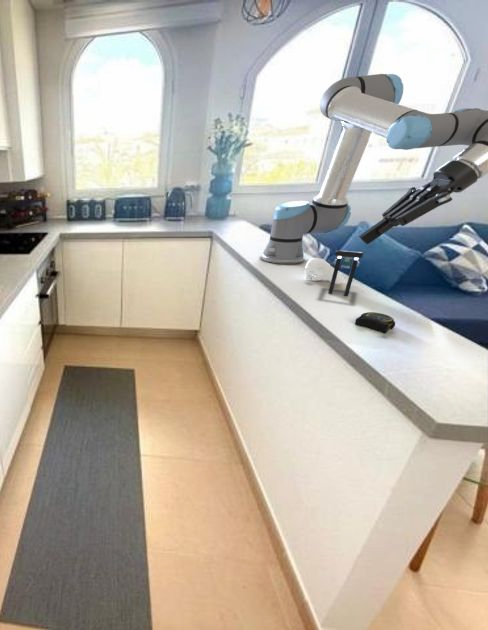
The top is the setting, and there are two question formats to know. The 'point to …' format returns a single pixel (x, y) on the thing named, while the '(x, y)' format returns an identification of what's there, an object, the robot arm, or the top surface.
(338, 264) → the bracket
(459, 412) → the top surface
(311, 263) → the white lumpy piece
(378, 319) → the tape measure
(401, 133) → the robot arm
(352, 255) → the lever
